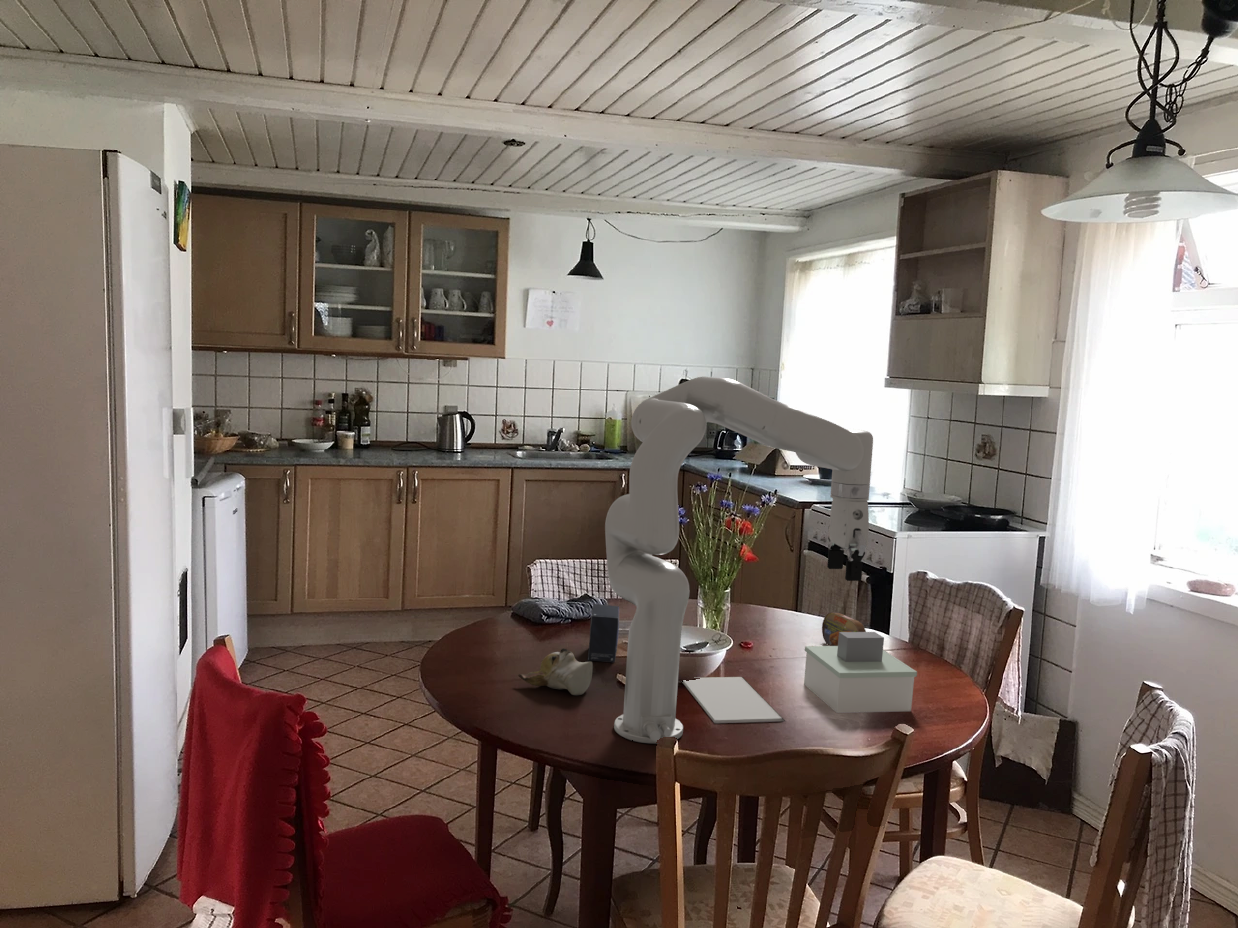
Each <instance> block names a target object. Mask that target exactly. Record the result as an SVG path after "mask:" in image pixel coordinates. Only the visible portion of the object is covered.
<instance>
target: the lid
mask: <svg viewBox="0 0 1238 928" xmlns="http://www.w3.org/2000/svg"><path fill="white" fill-rule="evenodd" d="M884 643H885V637H884V636H883V635H881V634H879V633H878V632H876V631H866V632H839V639H838V646H829V645H806V646H804V651H805V652H806V653H808V654H809V655H811V656H812V657H813V658H815V659H816V660H817V661H818V662H820V663H821V664H822V665H823V666H825V667H826V668H827V669H829V670H830V671H831V672H832V673H834V674H835V675H836V676H837V677H839V678H865V677H914V678H915V677H916V678H917V677H918V671H917V670H915V669H913V668H912V667H910V666H909V665H907V663H904V662H903V661H902V660H900V659H898V658H897V657H895V656H894V655H892V654H891V653H889V652H888V651H886V650H884Z"/></svg>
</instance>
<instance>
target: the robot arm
mask: <svg viewBox="0 0 1238 928" xmlns="http://www.w3.org/2000/svg"><path fill="white" fill-rule="evenodd" d="M707 423H713V424H716V425H719V426H722V427H724V428H726V429H729V430H731V431H733V432H735V433H738V434H739V435H742V436H744V437H746V438H749V439H750V440H753V441H754V442H757V443H759V444H761V445H763V446H768V447H771V448H774V449H777V450H781V451H786V452H787V451H788V452H793V453H795V454H796V456H797V458H798V459H799V460H800V461H801V462H803V463H804V464H806V465H809V466H812V467H818V468H822V469H823V468H825V469H828V470H829V469H830V470H832V472H831V484H830V494H829V495H830V498H831V499H832V501H831V507H830V516H829V524H828V538H827V539H828V541H829V542H828V546H827V549H828V554H827V566H826V567H827V569H829V570H842V569H844V557H845V556H844V555H845V551H846V553H847V559H848V560H845V561H846V562H845V573H844V574H845V575H844V579H845V581H847V582H861V581H862V578H863V576H862V575H863V566H864V565H863V564H864V563H863V562H864V561H865V555H866V550H868V546H869V527H870V523H869V521H870V518H869V517H870V515H869V503H868V502H869V500H870V486H871V475H872V474H871V473H872V461H873V459H872V458H873V449H874V447H873V445H874V436H873V434H872V433H871V432H870V431H868V430H867V431H866V430H862V429H851V428H849V429H846V428H845V427H842V426H840V425H839V424H836V423H834V422H831V421H829V420H827V419H825V418H821V417H819V416H816V415H813V414H811V413H808V412H805V411H804V410H801V409H799V408H797V407H794V406H791V405H789V404H785V403H783V402H781V401H779V400H776V399H774V398H773V397H770V396H768V395H766V394H764V393H762V392H761V391H757V390H756V389H754V388H752V387H750V386H748V385H745V384H744V383H742V382H739V381H737V380H735V379H733V378H726V377H715V376H699V377H698V376H697V377H695V378H692V379H689V380H687V381H685V382H682V383H680V384H677V385H675V386H673V387H670V388H669V389H666V390H664V391H661V392H659V393H657V394H655V395H653V396H650V397H648V398H646V399H645V400H643V401H642V402H641V403H639V404H638V405H637V407H635V409H634V411H633V413H632V416H631V420H630V427H631V430H632V433H633V435H634V436H635V437H636V439H637V440H639V441H640V442H642V443H641V444H640V446H638V448H637V450H636V451H635V454H634V456H633V457H632V460H631V462H630V467H629V485H628V486H629V487H628V488H629V489H628V490H629V491H628V492H629V493H627V494H624V495H621V496H619V497H618V498H616V499H615V500H614V501H613V502H612V504H611V505H610V507H609V509H608V510H607V514H606V516H605V517H606V518H605V524H604V531H605V532H604V534H605V548H606V549H605V552H606V565H607V575H608V576H607V577H608V581H609V585H610V587H611V589H612V591H613V592H614V593H615V594H616V595H617V596H619V597H620V598H622V599H623V600H625V601H626V602H629V603H631V604H633V605H634V606H635V607H636V608H635V609H636V610H635V613H634V616H633V618H632V620H631V622H630V624H629V630H628V635H627V653H626V664H625V665H626V666H625V668H626V669H625V680H624V681H625V685H624V698H623V699H624V700H623V713H622V714H621V715H618V717H616V718H615V720H614V724H613V726H614V727H613V728H614V731H615V732H616V733H617V734H618V735H619V736H620V737H623V738H625V739H627V740H629V741H632V740H633V742H637V743H641V744H657V743H656V742H657V740H659V739H660V738H663V737H675V738H677V739H676V740H678V739H680V738H681V737H682V736H683V732H684V725H683V723H682V722H681V721H680V720H679V719H677V718H676V716H677V715H676V714H677V703H678V702H677V699H678V697H677V696H678V686H679V671H680V656H681V642H682V641H681V639H682V631H683V622H684V619H685V612H686V610H687V606H688V603H689V600H690V598H689V597H690V583H689V580H688V577H687V576H686V575H685V573H684V571H682V569H680V567H678V566H677V565H676V564H673V563H672V562H669V561H667V560H664V559H662V558H660V557H657V556H659V555H660V556H661V555H666V554H668V553H670V552H672V551H673V550H674V549H675V547H676V546H677V544H678V542H679V537H680V520H679V519H680V518H679V516H680V515H679V499H678V498H679V497H678V494H679V493H678V481H679V480H678V478H679V472H680V468H681V466H682V464H683V463H684V461H685V459H686V458H687V457H688V455H689V454H690V453H691V452H692V451H693V450H694V449H695V448H696V447H697V446H698V445H699V444H700V443H701V441H702V440H703V438H704V436H705V434H706V431H707ZM654 555H656V556H654Z"/></svg>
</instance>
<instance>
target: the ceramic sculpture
mask: <svg viewBox="0 0 1238 928" xmlns="http://www.w3.org/2000/svg"><path fill="white" fill-rule="evenodd" d="M540 662H541V663H540V668H539V670H538V671H531V672H528V673H526V674H522V673H521V674H518V675H517V676H518V677H519V679H521V680H523V681H524V682H526V683H528V684H529V685H532V686H535V687H545V686H546V687H548V688H551V689H555V690H567V691H568V692H569V693H570V694H571V695H572V696H581V695H583V694H585V692H586V691H587V690H588V689H589V687H590V685H591V682H592V677H593V668H594V666H593V661H585V662H581V661H578V660H577V659H576V658H575V655H574V653H573V652H572V651H570V650H568V649H567V648H561V649H560V651H555V652H551V653H549V654H547V655H546V656H545V657H544V658H542V661H540Z"/></svg>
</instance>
